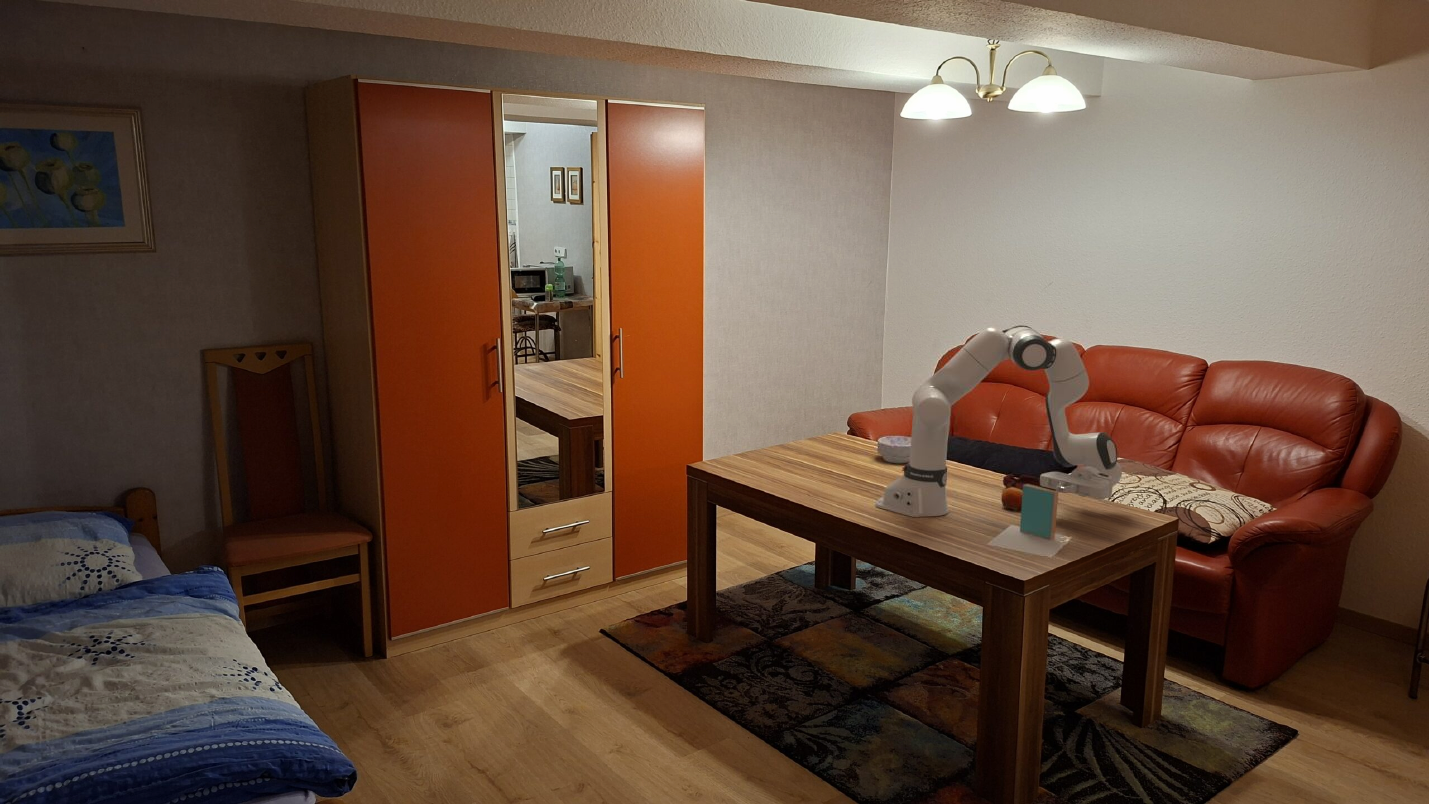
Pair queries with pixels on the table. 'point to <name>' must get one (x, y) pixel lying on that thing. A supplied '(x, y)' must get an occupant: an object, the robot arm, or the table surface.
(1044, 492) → the tile
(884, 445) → the white patterned bowl
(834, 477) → the table surface
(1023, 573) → the table surface
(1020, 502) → the fruit
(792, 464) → the table surface
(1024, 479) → the ashtray
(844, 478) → the table surface
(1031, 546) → the mat
